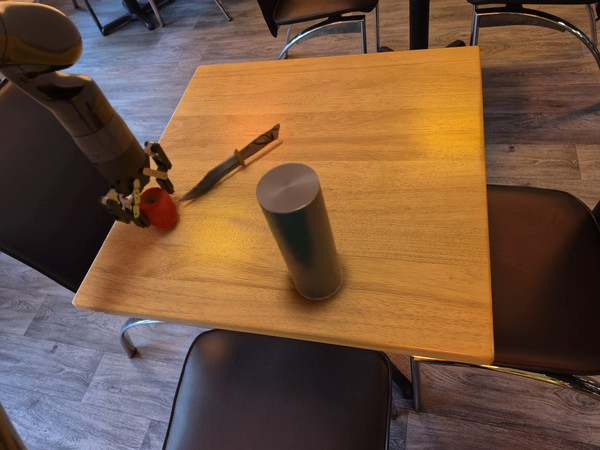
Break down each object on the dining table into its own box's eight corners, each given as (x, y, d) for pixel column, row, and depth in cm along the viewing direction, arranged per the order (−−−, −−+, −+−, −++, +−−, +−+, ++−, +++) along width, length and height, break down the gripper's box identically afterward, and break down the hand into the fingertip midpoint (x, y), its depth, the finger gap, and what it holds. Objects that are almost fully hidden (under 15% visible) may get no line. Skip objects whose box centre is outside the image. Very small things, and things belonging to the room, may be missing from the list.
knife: (182, 211, 83) (171, 194, 79) (179, 207, 84) (168, 190, 80) (286, 142, 88) (280, 123, 84) (282, 139, 89) (276, 120, 85)
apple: (150, 215, 84) (130, 190, 78) (180, 204, 84) (163, 178, 78) (153, 240, 80) (133, 216, 74) (185, 228, 80) (167, 203, 74)
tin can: (332, 306, 65) (303, 219, 48) (286, 291, 68) (244, 204, 51) (350, 263, 69) (329, 168, 52) (306, 251, 72) (273, 157, 55)
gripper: (118, 108, 71) (164, 176, 84) (59, 172, 64) (119, 235, 77) (154, 114, 68) (195, 183, 81) (96, 182, 61) (151, 246, 74)
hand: (157, 208), depth 79 cm, fingers open, 7 cm apart
